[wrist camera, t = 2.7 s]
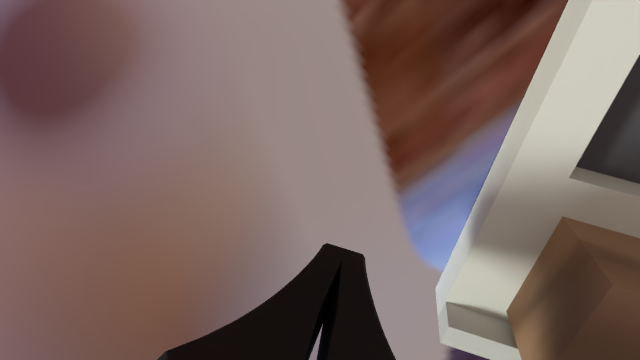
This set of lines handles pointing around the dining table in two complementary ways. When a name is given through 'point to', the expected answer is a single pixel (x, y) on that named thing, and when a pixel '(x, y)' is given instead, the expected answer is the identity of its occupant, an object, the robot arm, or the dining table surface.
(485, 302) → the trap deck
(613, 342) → the walnut block
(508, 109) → the dining table surface
